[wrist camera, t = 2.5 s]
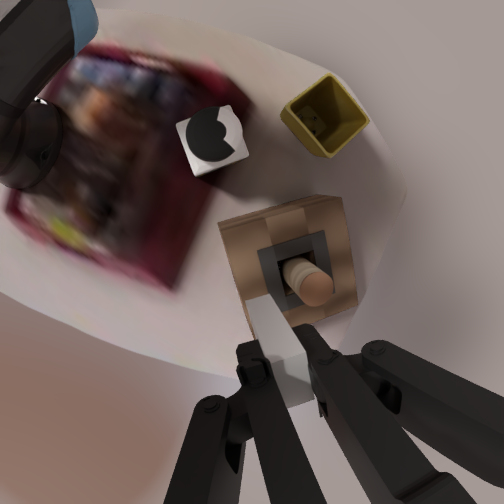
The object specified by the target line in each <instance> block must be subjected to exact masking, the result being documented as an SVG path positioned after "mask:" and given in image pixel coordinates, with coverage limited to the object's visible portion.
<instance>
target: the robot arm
mask: <svg viewBox="0 0 504 504" xmlns="http://www.w3.org/2000/svg"><path fill="white" fill-rule="evenodd" d="M98 25H99V22H98V17H97V13H96V10H95V8H94V5H93V3H92V1H91V0H0V183H2V184H3V185H5V186H7V187H9V188H14V189H18V188H27V187H30V186H33V185H35V184H36V183H38V182H39V181H40V180H42V179H43V178H44V177H45V176H46V175H47V173H48V172H49V171H50V169H51V168H52V166H53V164H54V163H55V161H56V158H57V156H58V153H59V150H60V147H61V142H62V121H61V117H60V114H59V112H58V110H57V109H56V107H55V106H54V105H53V104H52V103H50V102H49V101H47V100H45V99H43V98H40V97H36V96H37V95H38V94H39V93H40V92H41V91H42V89H43V88H44V87H45V86H46V85H47V84H48V83H49V82H50V81H51V79H52V78H53V77H54V76H55V75H56V74H57V73H58V72H59V71H60V70H61V69H62V68H63V67H64V66H65V65H66V64H67V63H68V62H69V61H70V60H73V59H74V58H75V57H76V56H77V54H78V52H79V51H80V50H81V49H83V48H84V47H85V46H86V45H87V44H88V43H89V42H90V41H91V40H92V39H93V38H94V37H95V35H96V33H97V30H98ZM245 303H246V306H247V310H248V313H249V317H250V320H251V324H252V327H253V331H254V334H255V338H256V340H253V341H249V342H246V343H242V344H239V345H238V347H237V349H236V354H237V359H238V364H239V365H238V366H237V369H236V372H237V375H238V377H239V380H240V383H241V385H242V386H241V388H240V389H239V391H237V392H236V393H235V394H234V395H232V396H230V397H229V398H225V397H223V396H220V395H211V396H207V397H205V398H203V399H201V400H200V401H199V402H198V403H197V404H196V406H195V408H194V412H193V415H192V418H191V420H190V423H189V426H188V429H187V433H186V436H185V439H184V442H183V445H182V448H181V451H180V454H179V457H178V460H177V463H176V466H175V469H174V472H173V475H172V478H171V481H170V484H169V488H168V491H167V494H166V497H165V500H164V503H163V504H238V503H239V495H240V487H241V480H242V472H243V464H244V456H245V447H246V441H247V440H249V439H251V438H252V437H254V441H255V444H256V449H257V453H258V457H259V461H260V465H261V469H262V473H263V476H264V480H265V484H266V488H267V491H268V495H269V498H270V503H271V504H327V502H326V500H325V498H324V495H323V493H322V491H321V489H320V486H319V484H318V482H317V479H316V477H315V475H314V472H313V470H312V468H311V465H310V463H309V461H308V458H307V456H306V454H305V451H304V449H303V446H302V444H301V441H300V439H299V437H298V434H297V432H296V429H295V427H294V425H293V422H292V420H291V417H290V415H289V412H288V410H287V408H290V407H293V406H296V405H299V404H302V403H305V402H308V401H310V400H314V399H315V398H314V394H315V395H316V397H317V401H318V407H319V413H320V417H323V416H324V418H325V420H326V422H327V423H328V425H329V427H330V429H331V431H332V432H333V434H334V436H335V438H336V440H337V442H338V443H339V446H340V447H341V449H342V451H343V453H344V455H345V457H346V458H347V460H348V462H349V464H350V466H351V468H352V469H353V471H354V473H355V475H356V477H357V479H358V480H359V482H360V484H361V486H362V488H363V489H364V491H365V493H366V495H367V497H368V498H369V500H370V502H371V504H477V503H476V502H475V501H474V499H473V498H472V497H471V496H470V495H469V494H468V492H467V491H466V490H465V489H464V488H463V486H462V485H461V484H460V483H459V481H458V480H457V479H456V478H455V477H454V476H453V475H452V474H450V473H448V472H439V471H437V470H436V469H435V468H434V467H433V465H432V464H431V463H430V462H429V461H428V459H427V458H426V457H425V456H424V454H423V453H422V452H421V451H420V450H419V448H418V447H417V446H416V445H415V443H414V442H413V441H412V440H411V438H410V437H409V436H408V435H407V433H406V432H405V431H404V430H403V428H404V429H406V430H407V431H408V432H410V433H411V434H413V435H414V436H416V437H417V438H419V439H420V440H421V441H423V442H425V443H426V444H427V445H429V446H430V447H432V448H433V449H435V450H436V451H438V452H439V453H441V454H442V455H444V456H446V457H447V458H449V459H450V460H452V461H453V462H455V463H457V464H458V465H460V466H461V467H463V468H464V469H466V470H468V471H469V472H471V473H473V474H474V475H476V476H477V477H479V478H481V479H482V480H484V481H486V482H488V483H490V484H492V485H494V486H497V487H500V488H504V397H502V396H500V395H498V394H496V393H494V392H491V391H489V390H487V389H485V388H483V387H480V386H478V385H476V384H474V383H472V382H470V381H468V380H466V379H464V378H462V377H459V376H457V375H455V374H453V373H451V372H449V371H447V370H445V369H443V368H441V367H439V366H437V365H435V364H433V363H430V362H428V361H426V360H424V359H422V358H420V357H418V356H416V355H414V354H412V353H410V352H408V351H406V350H404V349H402V348H400V347H398V346H396V345H394V344H392V343H390V342H388V341H384V340H375V341H371V342H369V343H366V344H365V345H364V346H363V348H362V350H361V353H360V354H354V355H342V354H341V353H340V352H339V351H337V350H334V349H331V348H330V347H329V345H328V344H327V343H326V342H325V340H324V339H323V338H322V337H321V336H320V334H319V333H318V332H317V330H316V329H315V328H314V326H312V325H310V324H307V323H304V324H301V325H298V326H295V327H292V328H291V327H290V326H289V324H288V322H287V321H286V319H285V318H284V316H283V314H282V313H281V311H280V310H279V308H278V306H277V305H276V303H275V302H274V300H273V298H272V297H271V295H270V294H267V295H263V296H260V297H257V298H253V299H250V300H246V301H245ZM322 414H323V415H322ZM402 427H403V428H402Z"/></svg>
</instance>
